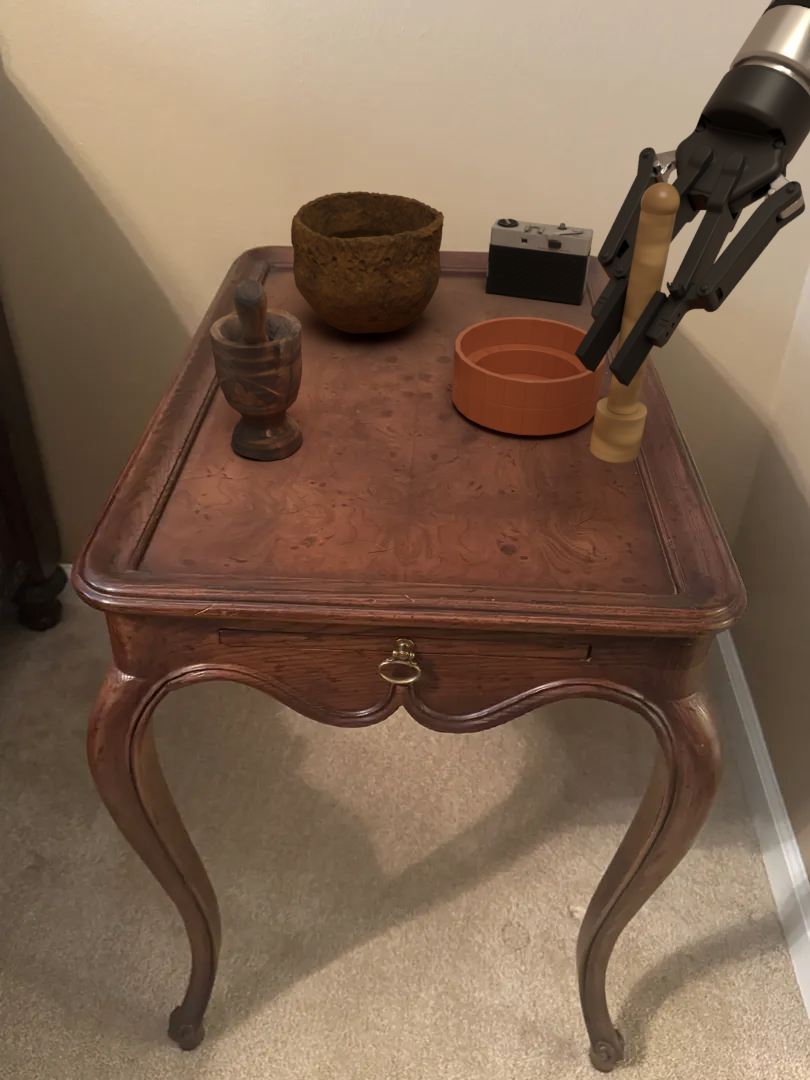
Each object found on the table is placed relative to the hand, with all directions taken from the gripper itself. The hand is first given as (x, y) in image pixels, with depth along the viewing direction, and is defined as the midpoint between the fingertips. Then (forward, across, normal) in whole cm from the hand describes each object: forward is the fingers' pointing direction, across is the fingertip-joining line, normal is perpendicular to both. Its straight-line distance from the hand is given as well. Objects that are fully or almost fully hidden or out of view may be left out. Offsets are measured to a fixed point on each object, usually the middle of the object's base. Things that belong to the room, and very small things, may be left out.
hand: (601, 369), depth 66 cm
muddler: (+3, 0, -9) cm, 9 cm away
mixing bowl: (0, +21, -27) cm, 34 cm away
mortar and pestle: (+19, +32, -8) cm, 38 cm away
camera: (-20, +42, -46) cm, 65 cm away
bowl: (-1, +48, -27) cm, 55 cm away
